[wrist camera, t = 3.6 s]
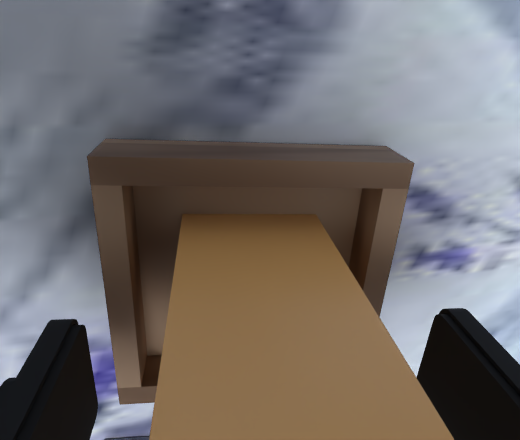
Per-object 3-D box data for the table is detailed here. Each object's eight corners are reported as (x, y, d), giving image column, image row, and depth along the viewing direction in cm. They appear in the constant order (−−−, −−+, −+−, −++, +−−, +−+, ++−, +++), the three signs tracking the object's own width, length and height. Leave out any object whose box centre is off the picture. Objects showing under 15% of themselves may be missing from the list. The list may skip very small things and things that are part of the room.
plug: (182, 213, 13) (40, 1172, 2) (315, 214, 13) (769, 953, 3) (185, 323, 15) (122, 1123, 4) (302, 319, 15) (533, 1003, 4)
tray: (105, 138, 12) (86, 156, 10) (386, 146, 13) (414, 163, 11) (129, 362, 16) (119, 404, 14) (346, 352, 17) (362, 390, 15)
